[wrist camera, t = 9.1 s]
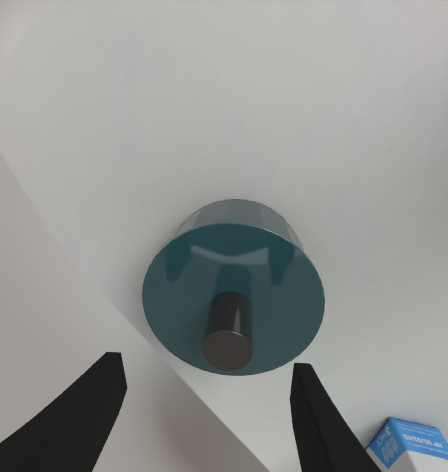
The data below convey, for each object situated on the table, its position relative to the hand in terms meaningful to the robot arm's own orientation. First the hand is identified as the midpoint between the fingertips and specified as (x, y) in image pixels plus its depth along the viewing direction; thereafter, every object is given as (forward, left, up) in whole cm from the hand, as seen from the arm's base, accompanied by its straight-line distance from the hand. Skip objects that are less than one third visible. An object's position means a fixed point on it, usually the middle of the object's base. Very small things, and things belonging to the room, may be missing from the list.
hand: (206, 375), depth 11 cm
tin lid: (+1, +1, -5) cm, 5 cm away
